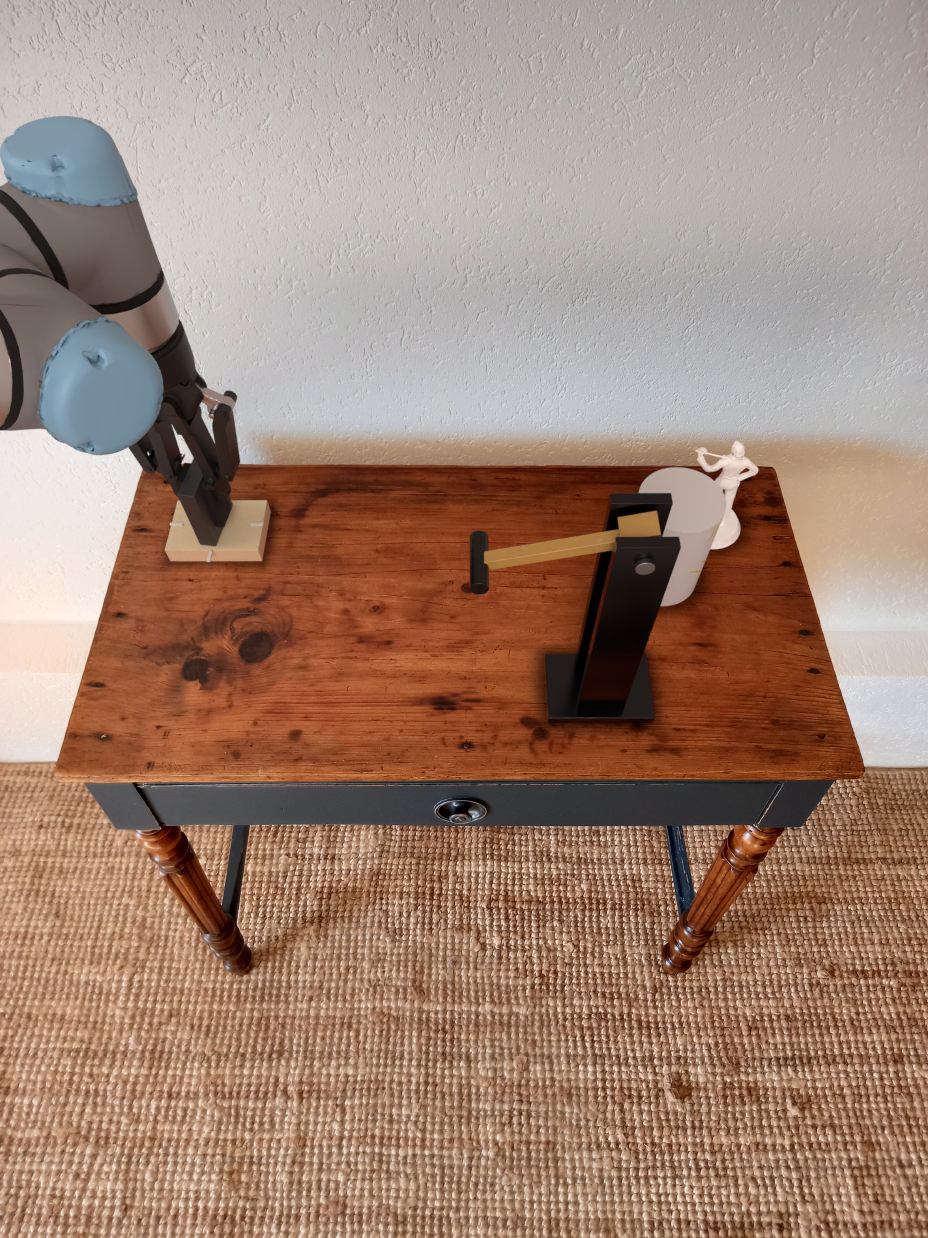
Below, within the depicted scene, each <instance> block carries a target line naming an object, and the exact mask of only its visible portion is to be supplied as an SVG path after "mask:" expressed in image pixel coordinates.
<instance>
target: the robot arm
mask: <svg viewBox="0 0 928 1238" xmlns="http://www.w3.org/2000/svg"><path fill="white" fill-rule="evenodd" d="M0 161H1V164H2V166H3V175H4V176H5V179H6V181H7V182H5V183H4V184H2V185H0V431H3V432H4V431H7V432H15V431H26V430H27V431H28V430H46V432H47V434H49V435H50V437H52V438H53V439H54V440H56V441H57V442H59V443H62V444H65V445H67V446H68V447H70V448H72V449H74V450H75V451H78V452H80V453H84V454H88V455H92V456H106V455H113V454H117V453H120V452H122V451H124V450H126V449H129V451H130V453H131V454H132V455H133V457H134V458H135V460H136V461H137V463H138V464H139V465H140V467H141V469H142V470H143V471H144V472H145V473H147V474H149V475H154V474H156V473H159V474H161V475H162V477H163V478H164V479H166V480H167V481H168V483H169V485H170V487H171V489H172V492H173V494H174V495H175V496H176V497H177V498H178V496H177V493H178V491H179V489H180V487H181V485H182V482H183V480H184V478H185V476H186V474H187V472H188V469H189V467H190V465H191V463H192V462H184V459H185V458H186V457H185V456H186V454H185V453H181V450H180V447H179V443H178V441H177V436H176V435H178V436H181V437H182V439H183V441H184V442H185V445H186V446H187V449H188V450H189V452H190V454H191V456H192V458H194V460H195V461H196V463H197V465H198V467H199V469H200V471H201V473H202V475H203V476H204V477H203V479H202V481H201V484H200V486H201V489H202V491H203V494H204V496H205V498H206V501H207V503H208V505H209V508H210V510H211V513H212V515H213V517H214V520H215V522H216V524H217V527H225V524H226V522H227V519H228V517H229V514H230V512H231V509H232V507H231V505H230V502H229V499H228V498H229V495H231V493H232V487H231V485H230V483H232V482H233V481H234V478H235V477H236V474H237V472H238V469H239V467H240V464H241V456H240V448H239V443H238V437H237V429H236V422H235V416H234V415H235V414H234V409H235V406H236V404H237V400H238V395H237V393H235V392H234V391H233V390H230V389H229V390H225V391H224V393H223V394H222V393H219V392H217V391H215V390H214V389H213V390H212V389H211V388H209V387H208V383H207V382H206V380H205V379H204V378H203V377H202V376H201V375H200V373H199V372H198V370H197V369H196V368H197V367H196V362H195V356H194V352H193V349H192V346H191V344H190V341H189V338H188V336H187V332H186V330H185V327H184V324H183V322H182V321H181V319H180V316H179V313H178V309H177V307H176V303H175V301H174V298H173V295H172V291H171V289H170V287H169V283H168V281H167V278H166V275H165V272H164V271H163V268H162V264H161V262H160V260H159V257H158V255H157V251H156V248H155V244H154V241H153V239H152V237H151V234H150V232H149V228H148V226H147V222H146V220H145V219H146V218H145V217H144V213H143V211H142V207H141V204H140V201H139V198H138V195H139V193H138V190H137V188H136V186H135V184H134V183H133V180H132V178H131V175H130V173H129V170H128V168H127V166H126V164H125V161H124V158H123V156H122V155H121V153H120V151H119V149H118V147H117V144H116V142H115V140H114V139H113V137H112V135H111V134H110V133H109V132H108V131H107V130H106V129H105V128H104V127H102V126H100V125H98V124H96V123H94V122H93V121H92V120H89V119H87V118H83V117H80V116H71V115H54V116H47V117H42V118H38V119H35V120H32V121H31V120H30V121H29V122H25V123H24V124H22V125H19V126H18V127H16V129H15V130H14V131H13V134H11V135H7V136H6V137H5V138H4V140H3V141H2V143H1V144H0ZM202 403H203V404H205V406H206V407H207V413H208V418H209V419H211V420H212V423H211V428H212V434H213V436H212V435H211V433H210V431H209V429H208V427H207V425H206V422H205V421H204V418H203V417H202V416H203V415H202V407H201V404H202ZM175 433H176V434H175ZM183 462H184V463H183ZM182 463H183V464H182Z"/></svg>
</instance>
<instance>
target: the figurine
mask: <svg viewBox="0 0 928 1238" xmlns="http://www.w3.org/2000/svg"><path fill="white" fill-rule="evenodd" d="M745 449H746V447H745V445H744V443H742V442H741V441H740V440H735V441H734V442H733V444H732V445H731V449H730V453H729V454H722V455H719V454H716V453H715V454H714V453H710V452H708V448H706V447H703V446H701V447H698V448H697V449H695V450H694V452H695V453H696V454H697V458H696V461H697V463H698V464H699V465H700V468H702V469H703V471H704V472H706V473H713V472H717V471H719V470H720V469H722V471H721V473H720V474H719V476H717V477H716V478H715V480H714V481H715V482H716V483H717V484H718V485H719V487H720V488H721V489H722V491H723V492H724V495H725V499H726V511H725V514H724V516H723V519H722V521H721V524H720V526H719V528H718V531H717V533H716V536H715V538H714V541H713V543H712V546H711V548H710V550H719V549H724V548H727V547H729V546H731V545H733V544H734V543H735V542H736V541H737V540H738V538H739V537H740V534H741V523H740V520H739V518H738V516H737V514H736V513H735V512H734V510H733V509H732V508H733V504H734V501H735V498H736V495H737V492H738V488H739V486H740V484H741V481H744V480H746V479H748V478H751V477H754V476H757V474H758V472H759V467H758V466H757V465H756V464H755V463H754V462H753V461H752V460H751V459H750V458H748V457H747V456H746V455H745V454H746V451H745ZM704 455H705V456H707V455H709V456H712V457H715V458H720V459H718V460H717V461H716V463H714V464H712V465H710V464H709V463H708V462H707V461H706V457H704ZM745 469H747V471H745V472H743V471H744V470H745Z"/></svg>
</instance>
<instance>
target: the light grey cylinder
mask: <svg viewBox="0 0 928 1238" xmlns="http://www.w3.org/2000/svg"><path fill="white" fill-rule="evenodd" d="M638 493H671V495H672V500H673V505H672V508H671V511H670V514H669V517H668V520H667V524H666V527H665V530H664V533H663V536H662V537H679V539H680V545H681V549H680V552H679V555H678V558H677V560H676V563H675V566H674V569H673V572H672V575H671V577H670V580H669V583H668V586H667V589H666V592H665V594H664V597H663V600H662V603H661V606H660V607H669V606H675V605H678V604H680V603H682V602H683V601H686V599H688V598H689V597H690V596H691V595H692V594H693V592H694V591H695V587H696V585H697V583H698V580H699V578H700V575H701V573H702V570H703V568H704V566H705V563H706V561H707V558H708V556H709V553H710V551H711V549H710V548H711V546H712V543H713V541H714V538H715V536H716V533H717V531H718V528H719V526H720V524H721V521H722V519H723V516H724V514H725V511H726V499H725V495H724V494H725V492H724V490H723V491H722V489H721V488H720V487H719V485H718V484H717V483H716V482H715V480H714V479H712V478H711V477H710V476H708V475H706V474H704V473H703V472H700V471H698V470H695V469H692V468H687V467H678V466H673V467H666V468H662V469H659V470H657V471H654V472H652V473H650V475H647V477H646V478H645V479H644V480H643V482H642V483H641V484H640V487H639V489H638Z"/></svg>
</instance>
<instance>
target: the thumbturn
mask: <svg viewBox="0 0 928 1238" xmlns="http://www.w3.org/2000/svg"><path fill="white" fill-rule="evenodd" d="M192 458H193V457H192ZM190 463H191V465H190V467H189V469H188V472H187V474H186V476H185V478H184V480H183V482H182V485H181V487H180V489H179V491H178V493H177V496H178V497H177V496H176V497H177V498H178V500H180V502H181V504H182V507H183V509H184V511H185V513H186V515H187V517H188V519H189V522H190V524H191V526H192V528H193V530H194V532H195V535H196V537H197V539H198V541H199V543H200V545H207V546H216V545H217V543H218V540H219V538H220V535H221V533H222V530H223V528H224V527H217V524H216V522H215V520H214V517H213V515H212V513H211V510H210V508H209V505H208V503H207V501H206V498H205V496H204V494H203V491H202V489H201V486H200V484H201V481H202V479H203V477H204V476H203V475H202V473H201V471H200V469H199V467H198V465H197V463H196V461H195V460H194V458H193V459H192V461H191V462H190ZM230 495H231V494H230ZM230 495H229V498H228V499H229V502H230V505H231V507H232V505H233V503H232V501H231V500H232V498H231V496H230Z"/></svg>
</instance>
